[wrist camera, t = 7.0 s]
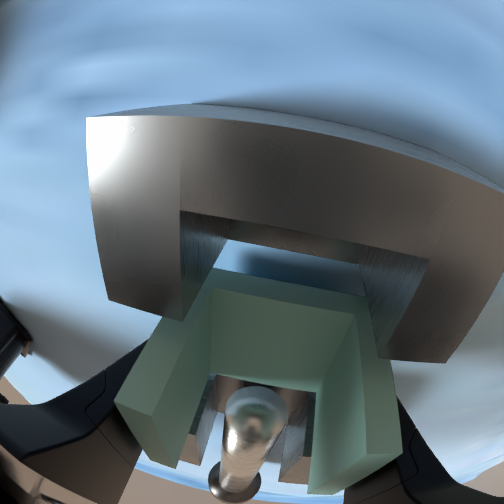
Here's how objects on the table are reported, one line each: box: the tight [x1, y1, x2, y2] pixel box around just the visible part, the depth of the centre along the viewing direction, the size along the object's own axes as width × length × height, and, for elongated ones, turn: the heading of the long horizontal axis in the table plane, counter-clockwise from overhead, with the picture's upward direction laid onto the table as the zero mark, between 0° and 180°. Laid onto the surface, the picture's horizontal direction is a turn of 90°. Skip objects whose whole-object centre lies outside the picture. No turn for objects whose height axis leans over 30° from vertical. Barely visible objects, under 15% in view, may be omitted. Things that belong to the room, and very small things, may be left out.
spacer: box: [114, 268, 403, 495], centre depth 8 cm, size 4×6×6 cm
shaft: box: [208, 386, 288, 504], centre depth 15 cm, size 16×4×4 cm, turn 173°
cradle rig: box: [86, 104, 504, 485], centre depth 10 cm, size 16×8×5 cm, turn 173°
